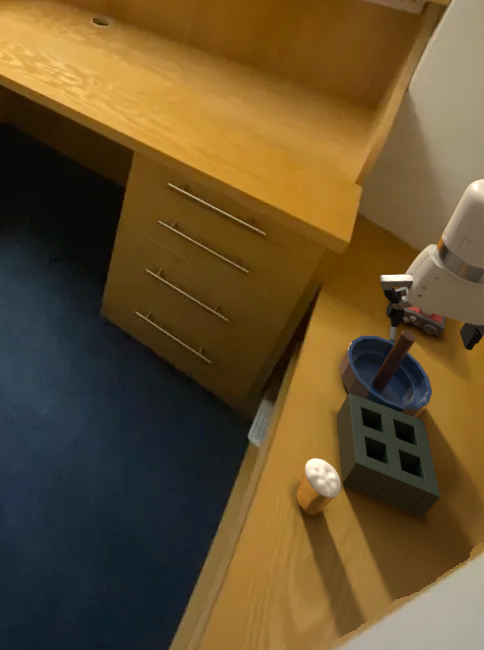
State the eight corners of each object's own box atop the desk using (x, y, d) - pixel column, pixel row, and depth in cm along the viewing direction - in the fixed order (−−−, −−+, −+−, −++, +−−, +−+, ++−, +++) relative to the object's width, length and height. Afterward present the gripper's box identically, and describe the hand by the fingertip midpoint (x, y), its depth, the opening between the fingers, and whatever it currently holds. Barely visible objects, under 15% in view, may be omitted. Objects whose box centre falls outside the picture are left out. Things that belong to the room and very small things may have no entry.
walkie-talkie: (392, 270, 111) (382, 343, 97) (400, 256, 108) (390, 329, 94) (442, 291, 106) (438, 371, 92) (450, 277, 104) (448, 357, 90)
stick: (383, 382, 90) (414, 332, 82) (385, 392, 88) (417, 342, 81) (371, 377, 91) (401, 327, 83) (372, 388, 89) (403, 338, 82)
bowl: (411, 368, 92) (422, 351, 90) (426, 439, 83) (439, 422, 80) (336, 342, 97) (345, 325, 94) (342, 407, 87) (352, 390, 84)
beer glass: (298, 525, 73) (317, 495, 68) (287, 480, 78) (304, 449, 73) (331, 531, 73) (352, 501, 68) (318, 485, 78) (337, 454, 73)
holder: (407, 442, 82) (424, 420, 79) (421, 518, 74) (440, 497, 71) (336, 414, 86) (348, 392, 82) (342, 484, 78) (356, 462, 74)
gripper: (536, 255, 72) (487, 328, 80) (394, 221, 78) (362, 292, 86) (559, 300, 66) (504, 374, 74) (403, 259, 72) (368, 331, 80)
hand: (427, 330), depth 80 cm, fingers open, 9 cm apart
